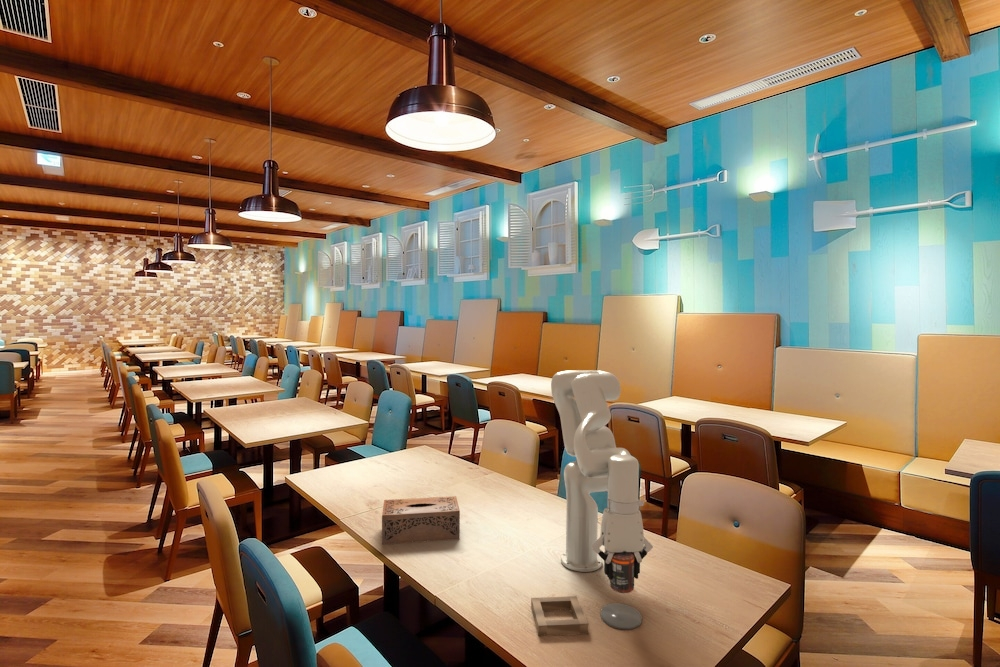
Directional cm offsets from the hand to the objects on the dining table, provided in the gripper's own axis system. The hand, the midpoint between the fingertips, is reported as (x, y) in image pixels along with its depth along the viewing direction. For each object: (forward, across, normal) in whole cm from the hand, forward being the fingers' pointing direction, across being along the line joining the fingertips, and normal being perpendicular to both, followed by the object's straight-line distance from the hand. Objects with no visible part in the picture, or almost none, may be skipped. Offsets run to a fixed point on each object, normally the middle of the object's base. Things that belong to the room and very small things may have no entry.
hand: (621, 575), depth 127 cm
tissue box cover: (+11, +54, -54) cm, 77 cm away
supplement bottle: (+3, 0, 0) cm, 3 cm away
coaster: (+11, 0, 0) cm, 11 cm away
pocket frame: (+11, +16, 0) cm, 19 cm away
